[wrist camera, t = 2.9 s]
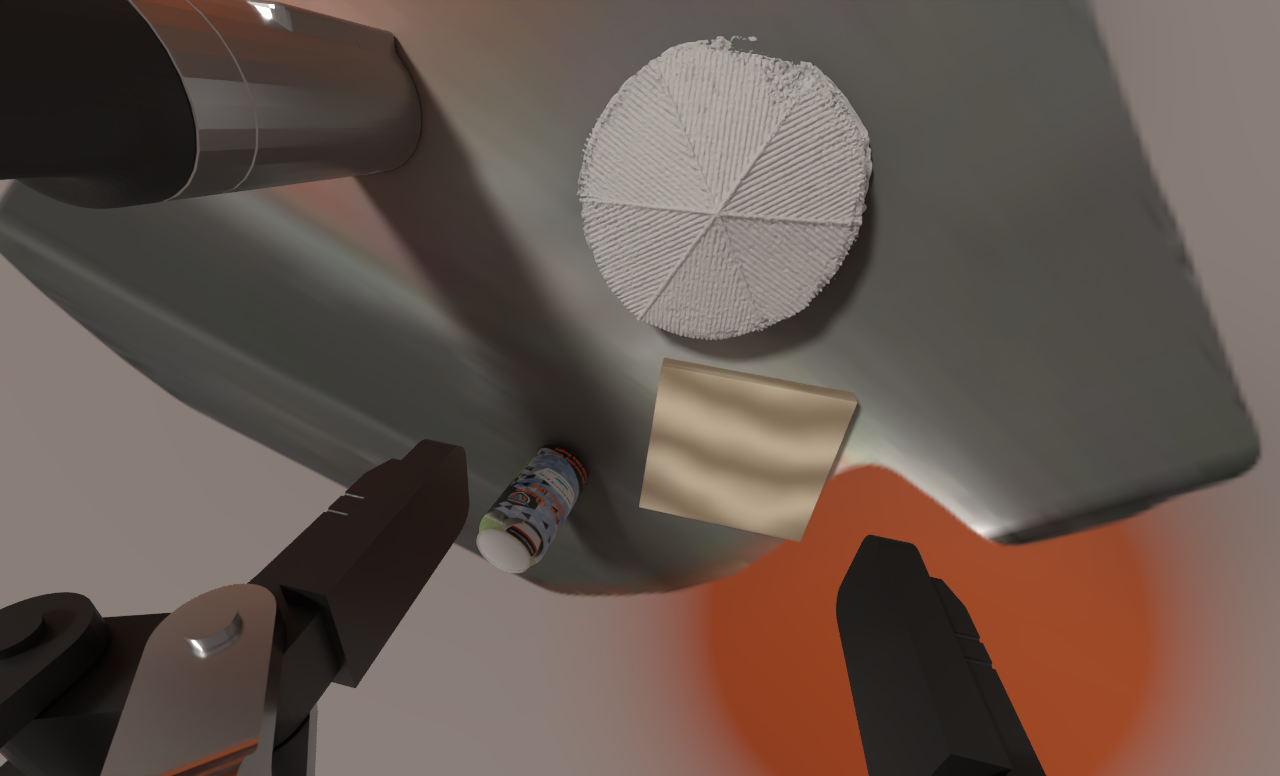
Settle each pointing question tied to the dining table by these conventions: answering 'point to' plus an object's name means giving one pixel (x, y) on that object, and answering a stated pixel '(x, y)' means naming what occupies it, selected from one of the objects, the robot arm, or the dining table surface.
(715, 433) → the coaster board
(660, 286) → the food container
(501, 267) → the dining table surface
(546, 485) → the beverage can
